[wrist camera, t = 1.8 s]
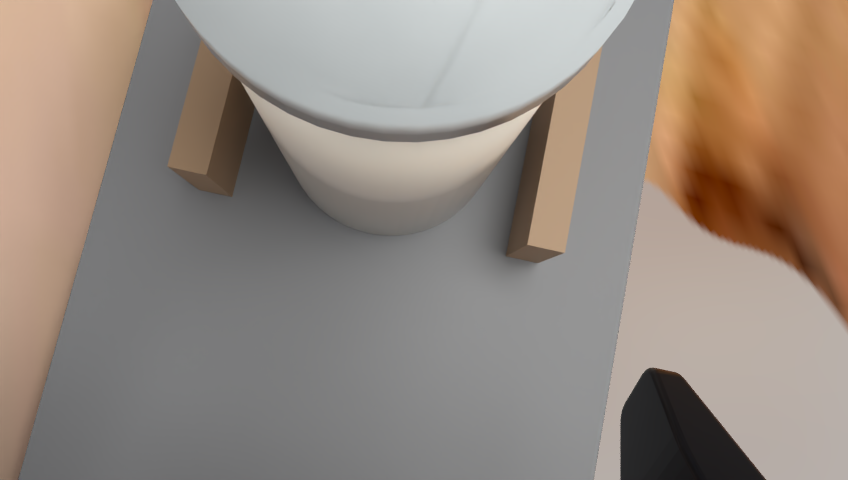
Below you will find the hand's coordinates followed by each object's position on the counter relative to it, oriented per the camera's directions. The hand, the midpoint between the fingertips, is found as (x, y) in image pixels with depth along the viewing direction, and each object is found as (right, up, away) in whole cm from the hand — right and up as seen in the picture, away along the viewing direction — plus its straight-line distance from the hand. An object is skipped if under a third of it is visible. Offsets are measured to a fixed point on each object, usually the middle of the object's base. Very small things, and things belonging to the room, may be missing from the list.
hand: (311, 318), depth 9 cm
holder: (0, +1, +13) cm, 13 cm away
